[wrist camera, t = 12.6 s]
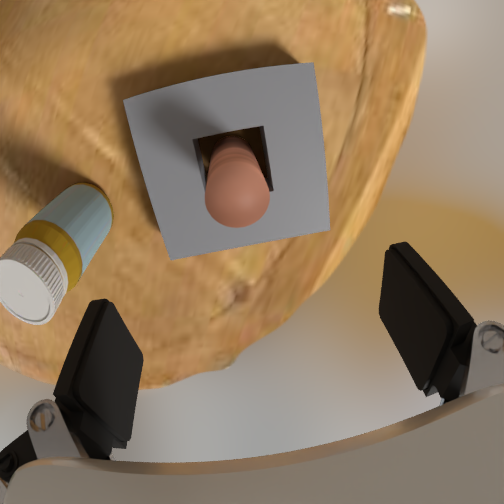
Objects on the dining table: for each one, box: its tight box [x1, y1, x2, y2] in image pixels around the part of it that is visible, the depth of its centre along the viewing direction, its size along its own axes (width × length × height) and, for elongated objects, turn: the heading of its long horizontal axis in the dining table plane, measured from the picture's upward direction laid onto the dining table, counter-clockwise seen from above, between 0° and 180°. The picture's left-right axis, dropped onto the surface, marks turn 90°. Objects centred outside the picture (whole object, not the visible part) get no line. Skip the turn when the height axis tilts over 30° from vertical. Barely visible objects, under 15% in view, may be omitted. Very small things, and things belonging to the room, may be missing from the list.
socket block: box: [123, 63, 330, 260], centre depth 27 cm, size 16×16×4 cm
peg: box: [205, 136, 270, 228], centre depth 24 cm, size 4×4×12 cm
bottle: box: [0, 183, 114, 325], centre depth 24 cm, size 7×7×15 cm
